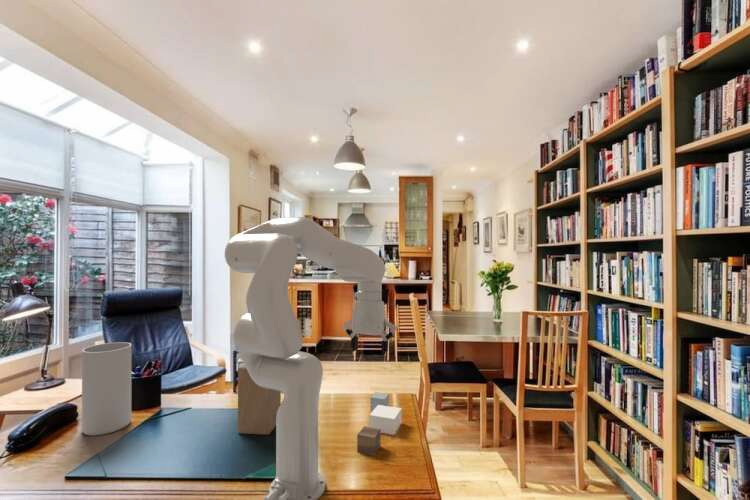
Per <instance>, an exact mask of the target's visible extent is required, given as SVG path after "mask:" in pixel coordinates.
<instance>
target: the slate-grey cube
mask: <svg viewBox="0 0 750 500" xmlns="http://www.w3.org/2000/svg"><path fill="white" fill-rule="evenodd" d="M377 405H383V406H389V407H390V394H389V393H384V392H378V391H377V392H376V391H375V392H374V393H373V394H372V395H371V396H370V412H371V413H372V411H373V410H374V409H375V408H376V406H377Z"/></svg>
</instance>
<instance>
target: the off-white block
mask: <svg viewBox="0 0 750 500" xmlns="http://www.w3.org/2000/svg"><path fill="white" fill-rule="evenodd" d="M401 425H402V407H395V406H390V405H389V406H383V405H377V406H376V408H375V409H374V410H373V411H372V412H371V413H369V425H368V427H371V428H377V429H381V434H385V435H392V436H395V435H396V433H397V432H398V430H399V428H400V427H401ZM396 431H397V432H396Z"/></svg>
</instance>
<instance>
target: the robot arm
mask: <svg viewBox="0 0 750 500" xmlns="http://www.w3.org/2000/svg"><path fill="white" fill-rule="evenodd" d="M298 254H299V255H300V256H302V257H305V258H306V259H308V260H310V261H312V262H314V263H316V264H317V265H319V266H321V267H322V268H327V269H331V270H334V271H336V274H337V276H338V277H339V278H340V279H341V280H343V281H345V282H349V283H357V291H356V292H353V297H355V298H356V300H355V301H354V303H353V304H354V305H353V310H352V319H350V320H348V321H346V322H344V323H343V327H344V329H345V331H346V332H345V333H346V334H347V335H348V336H349V339H350V347H351V352H356V351H357V350H359V337H358V335H370V336H379V337H380V338H381V339H382V341H381V342H380V343H381V352H380V353H381V354H380V355H385V354H386V353H387V352H388V350H389V340H390V339H391V338H392V337H393V336H394V334H395V332H396V330H397V328H398V327H397V326H396V325H395V324H393V323H392V322H390V321H388V320H387V317H386V315H387V313H386V307H385V302H384V301H383V300H382V299H383V298H382V297H383V296H382V292H383V288H382V287H383V286H382V283H383V282H382V280H383V278H384V277H385V274H386V265H385V263H384V261H383V259H382V258H381V257H380V256H379V255H378V254H377V252H375V251H373V250H371V249H369V248H368V247H364V246H362V245H360V244H356V243H353V242H350V241H349V240H345V239H342V238H339V237H338V236H336V235H335V234H333V233H332V232H331V231H329V230H328V229H326V228H324V227H323V226H321V225H320V224H319V223H318V222H316V221H314V220H313V219H311V218H310V217H309V218H308V217H305V216H297V217H296V216H295V217H281V218H280V217H279V218H274V219H270V220H268V221H266V222H263V223H260V224H258V225H257V226H255V227H252V228H250V229H247V230H245V231H243V232H240V233H238V234H236V235H234V236H233V237H232V238H231V239H230V240H229V241H228V242H227V244H226V246H225V249H224V259H225V262H226V263H227V266H229V268H230V269H232V270H234V271H235V272H238V273H242V274H254V275H253V276H252V278H251V282H249V283H250V284H249V286H248V288H247V292H246V294H245V295H246V296H245V304H246V308H247V311H248V312H247V313H245V314H244V315H242V316H241V317H240V318H239V319H238V320H237V322H236V325H235V327H234V331H233V340H234V345H235V348H236V350H237V353H238V355H239V357H240V358H241V359H240V360H241V361H242V363H243V364H244V365H245V367H246V369H247V371H248V373H249V375H250V376H251V378H252V380H253V381H254V382H255V383H256V384H257V385H259V386H261V387H263V388H266V389H271V390H275V391H278V392H281V393H282V394H283V399H282V401H281V404H280V406H279V408H278V410H277V415H276V426H275V427H276V428H275V439H276V440H275V447H276V448H275V452H276V453H275V456H276V457H275V460H276V461H275V463H276V464H275V469H276V470H275V479H273V480H272V481H271V482H270V485H269V488H268V494H267V495H266V496H264V498H263V500H319V498H321V497H322V496H323V494H324V493H325V490H326V479H325V478H324V476H323V474H321V473H319V401H320V391H321V386H322V382H323V376H324V375H323V374H324V367H323V365H322V364H323V363H322V362H321V360H320V359H319V358H318V357H317V356H315V355H314V354H311V353H308V352H305V351H300V350H301V349H302V347H303V343H304V339H303V338H304V337H303V334H302V333H303V332H302V329H301V326H300V324H299V321H298V319H297V316H296V314H295V311H294V309H293V306H292V304H291V300H290V298H289V294H288V285H289V282H290V278H291V276H292V272H293V270H294V269H295V266H296V263H297V259H298ZM350 325H351V326H350ZM387 328H388V329H390V330H389V332H388V333H387Z"/></svg>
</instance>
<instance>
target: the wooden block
mask: <svg viewBox="0 0 750 500" xmlns="http://www.w3.org/2000/svg"><path fill="white" fill-rule="evenodd" d="M281 403H282V401H281V392H278V391H275V390H271V389H266V388H263V387H261V386H259V385H257V384H256V383H255V382H254V381H253V380H252V378H251V376H250V375H249V373H248V371H247V369H246V367H245V365H244V363H243V364H242V365H240V366H238V369H237V433H238V434H245V435H246V434H248V435H264V436H266V435H267V436H268V435H270V434H271V433H272V431H273V430H274V429H276V428H275V427H276V415H277V410H278V408H279V406H280V404H281Z"/></svg>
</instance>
